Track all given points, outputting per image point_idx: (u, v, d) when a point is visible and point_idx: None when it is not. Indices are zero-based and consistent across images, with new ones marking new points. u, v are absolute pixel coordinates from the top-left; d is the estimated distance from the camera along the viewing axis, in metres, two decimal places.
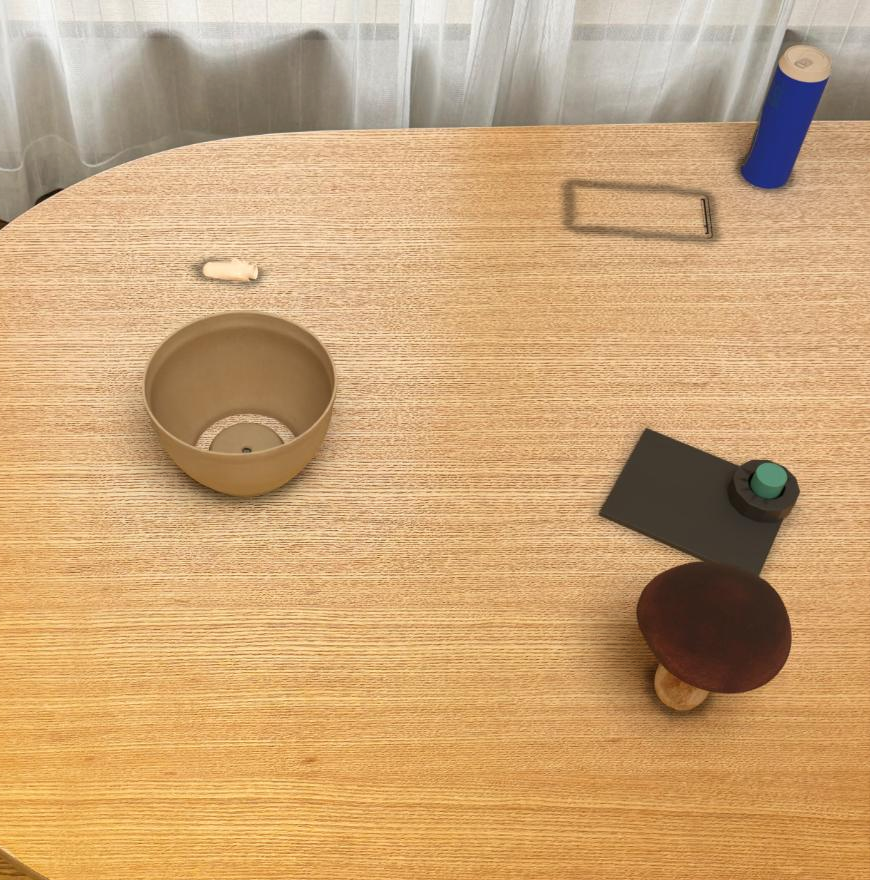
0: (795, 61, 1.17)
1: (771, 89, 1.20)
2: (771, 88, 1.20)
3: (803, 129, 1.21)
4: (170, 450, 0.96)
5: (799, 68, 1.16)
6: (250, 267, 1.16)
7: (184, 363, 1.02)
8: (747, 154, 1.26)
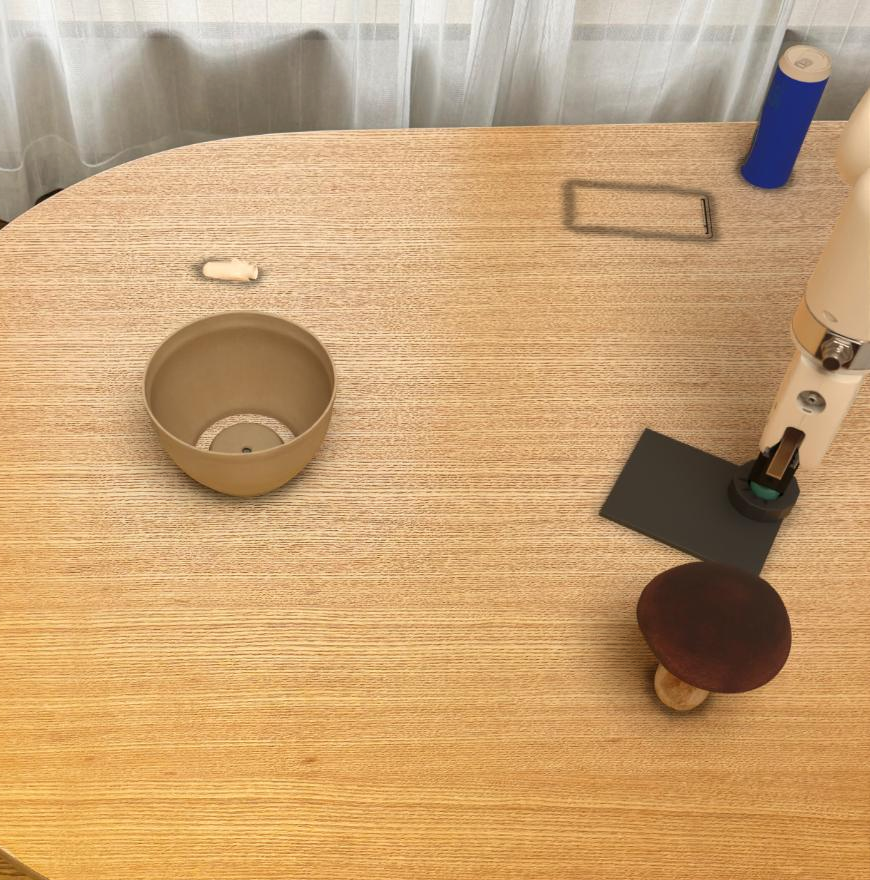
0: (795, 61, 1.17)
1: (771, 89, 1.20)
2: (771, 88, 1.20)
3: (803, 129, 1.21)
4: (170, 450, 0.96)
5: (799, 68, 1.16)
6: (250, 267, 1.16)
7: (184, 363, 1.02)
8: (747, 154, 1.26)
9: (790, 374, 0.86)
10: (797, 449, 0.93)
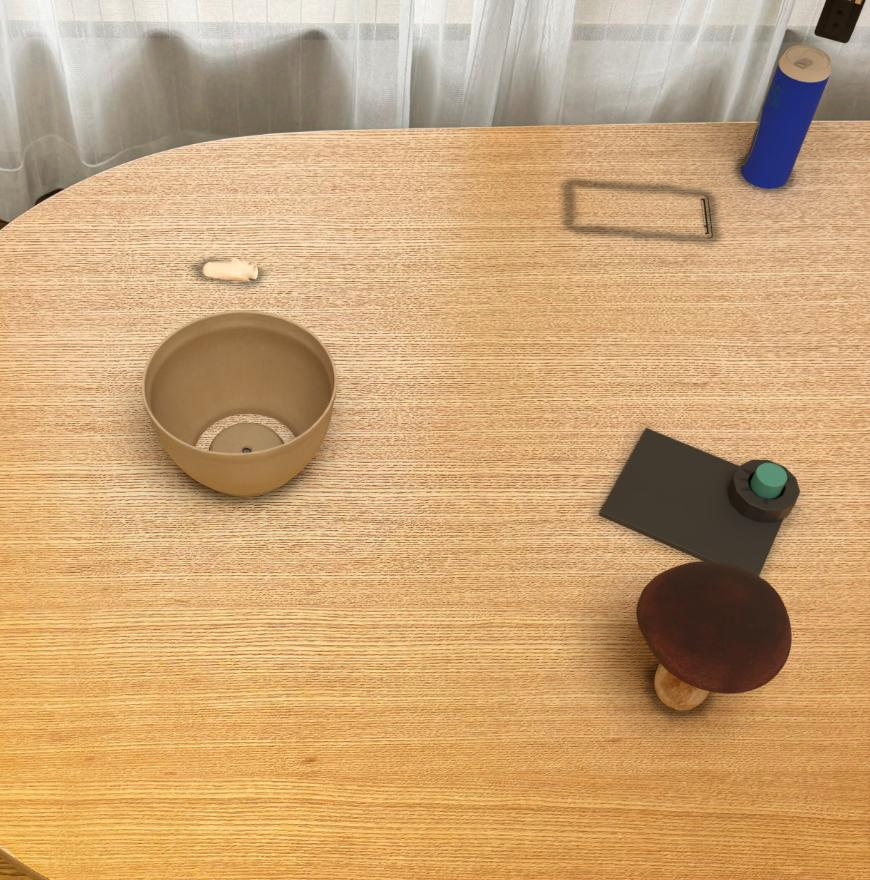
0: (795, 61, 1.17)
1: (771, 89, 1.20)
2: (771, 88, 1.20)
3: (803, 129, 1.21)
4: (170, 450, 0.96)
5: (799, 68, 1.16)
6: (250, 267, 1.16)
7: (184, 363, 1.02)
8: (747, 154, 1.26)
9: None
10: None
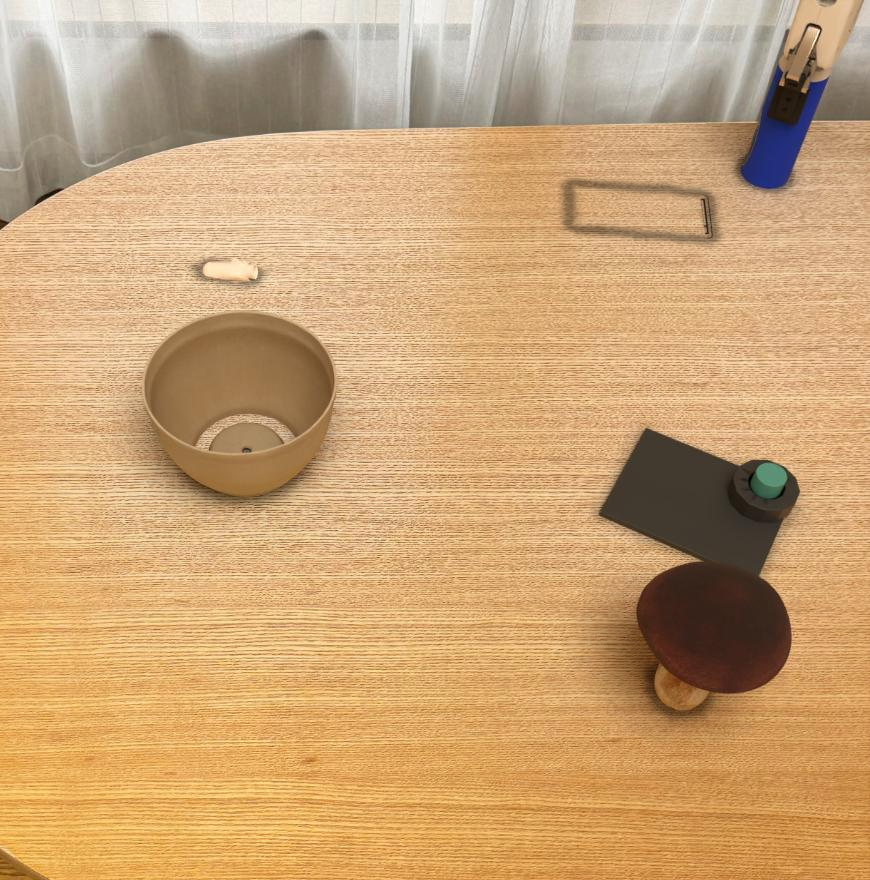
0: None
1: (771, 89, 1.20)
2: (771, 88, 1.20)
3: (803, 129, 1.21)
4: (170, 450, 0.96)
5: None
6: (250, 267, 1.16)
7: (184, 363, 1.02)
8: (747, 154, 1.26)
9: None
10: (812, 62, 1.14)
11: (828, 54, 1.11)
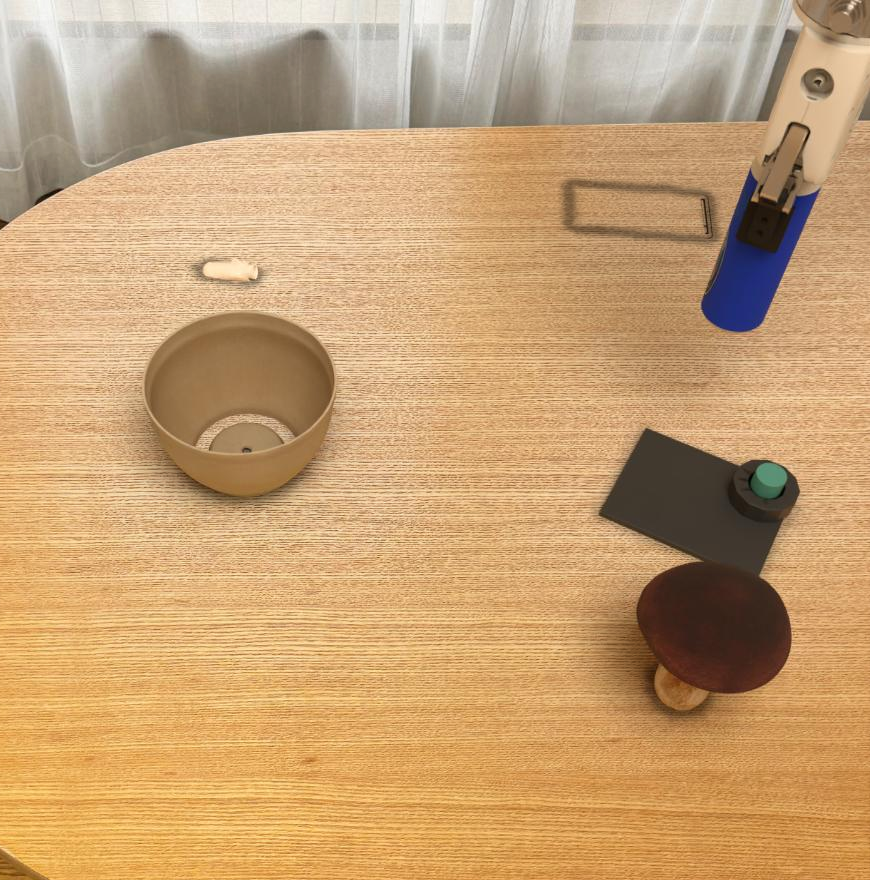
0: None
1: (741, 200, 0.87)
2: (741, 199, 0.87)
3: (785, 255, 0.88)
4: (170, 450, 0.96)
5: None
6: (250, 267, 1.16)
7: (184, 363, 1.02)
8: (710, 281, 0.93)
9: (793, 54, 0.75)
10: (797, 173, 0.80)
11: (819, 165, 0.78)
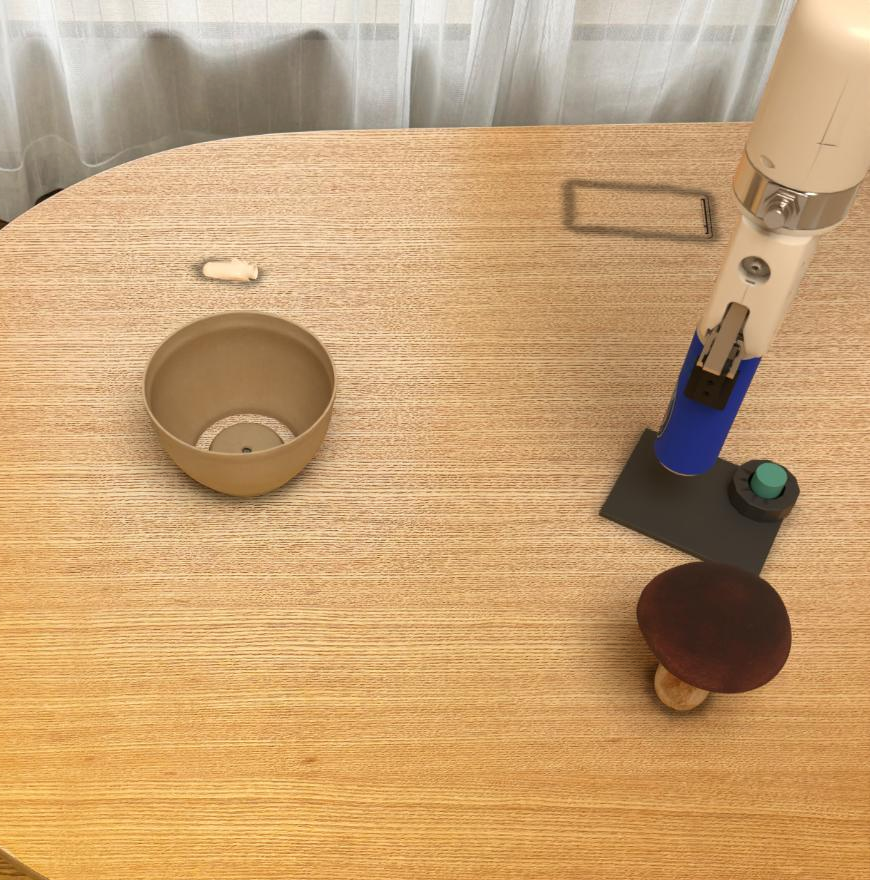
0: None
1: (688, 358, 0.88)
2: (688, 357, 0.88)
3: (732, 409, 0.89)
4: (170, 450, 0.96)
5: None
6: (250, 267, 1.16)
7: (184, 363, 1.02)
8: (662, 426, 0.95)
9: (731, 240, 0.76)
10: (739, 343, 0.82)
11: (760, 341, 0.79)
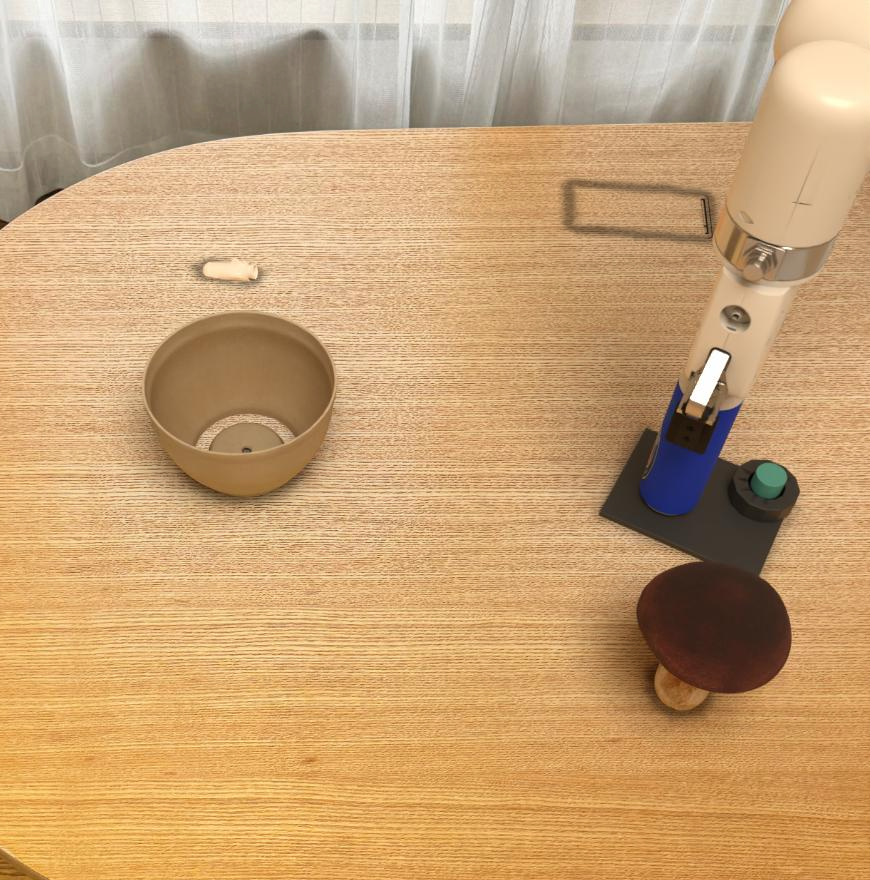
0: None
1: (671, 407, 0.92)
2: (671, 406, 0.92)
3: (713, 454, 0.94)
4: (170, 450, 0.96)
5: None
6: (250, 267, 1.16)
7: (184, 363, 1.02)
8: (647, 468, 0.99)
9: (713, 289, 0.79)
10: (721, 385, 0.84)
11: (742, 384, 0.82)
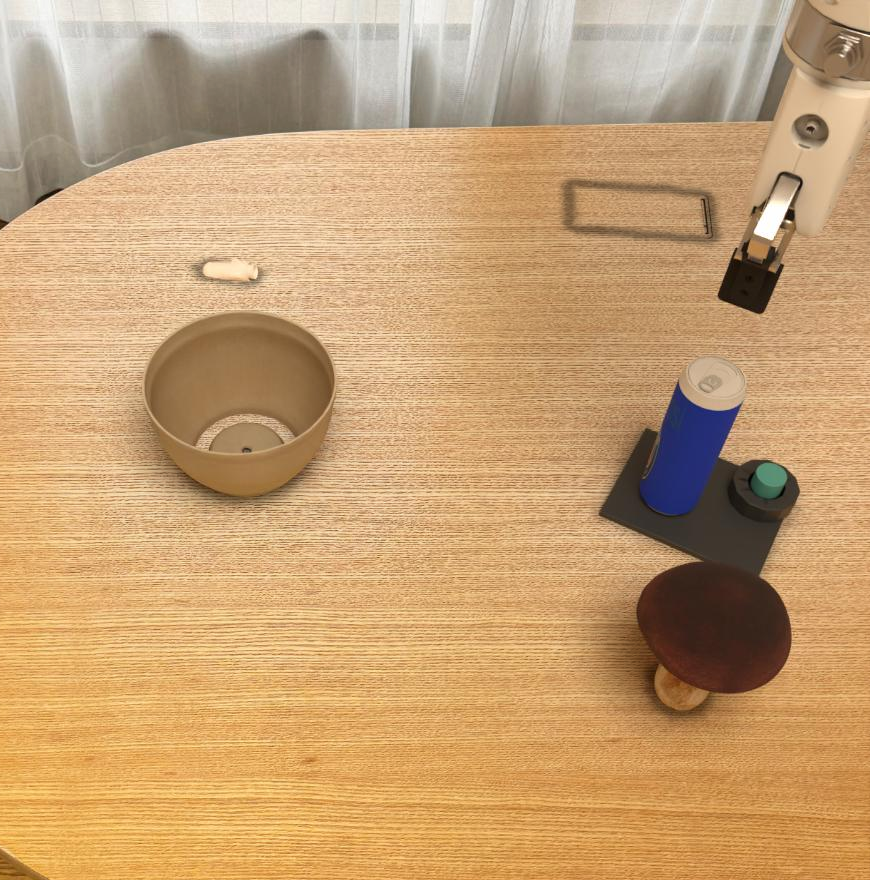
0: (699, 381, 0.90)
1: (671, 407, 0.92)
2: (671, 406, 0.92)
3: (713, 454, 0.94)
4: (170, 450, 0.96)
5: (703, 393, 0.89)
6: (250, 267, 1.16)
7: (184, 363, 1.02)
8: (647, 468, 0.99)
9: (783, 98, 0.67)
10: (788, 223, 0.72)
11: (813, 218, 0.70)
